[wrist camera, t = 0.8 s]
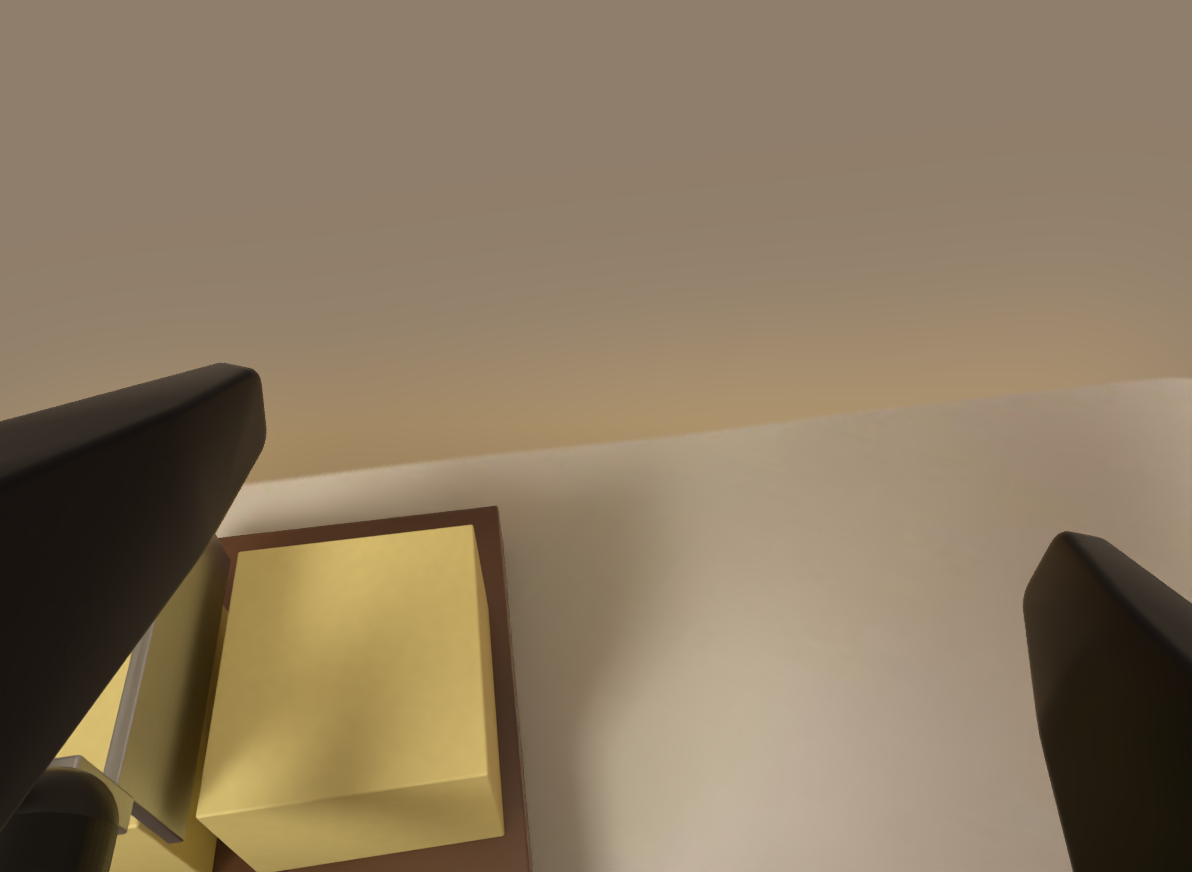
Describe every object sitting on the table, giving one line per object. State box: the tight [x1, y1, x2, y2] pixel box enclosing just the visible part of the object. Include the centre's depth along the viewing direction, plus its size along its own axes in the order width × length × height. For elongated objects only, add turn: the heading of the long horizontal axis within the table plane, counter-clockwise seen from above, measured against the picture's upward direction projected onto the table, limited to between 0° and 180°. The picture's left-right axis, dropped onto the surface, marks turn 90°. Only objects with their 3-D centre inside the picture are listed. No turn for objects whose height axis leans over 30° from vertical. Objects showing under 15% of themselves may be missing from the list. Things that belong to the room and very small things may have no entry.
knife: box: [0, 534, 231, 872], centre depth 13 cm, size 14×2×5 cm, turn 8°
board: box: [212, 506, 532, 872], centre depth 21 cm, size 13×10×2 cm
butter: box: [55, 525, 505, 872], centre depth 19 cm, size 6×9×4 cm, turn 98°
